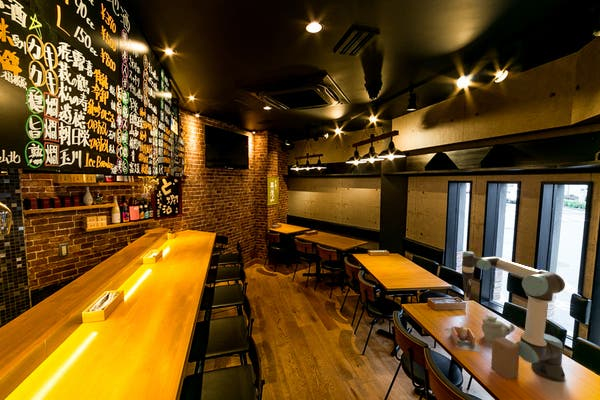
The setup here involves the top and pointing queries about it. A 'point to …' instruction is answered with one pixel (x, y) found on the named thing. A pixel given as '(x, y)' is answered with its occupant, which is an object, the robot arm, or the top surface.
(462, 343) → the socket
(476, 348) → the board
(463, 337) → the peg
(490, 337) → the teapot
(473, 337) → the housing
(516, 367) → the wooden block
